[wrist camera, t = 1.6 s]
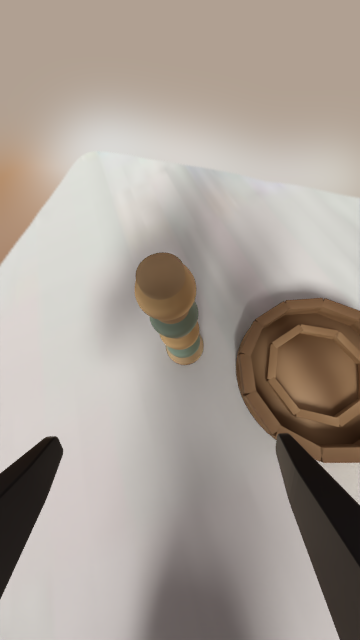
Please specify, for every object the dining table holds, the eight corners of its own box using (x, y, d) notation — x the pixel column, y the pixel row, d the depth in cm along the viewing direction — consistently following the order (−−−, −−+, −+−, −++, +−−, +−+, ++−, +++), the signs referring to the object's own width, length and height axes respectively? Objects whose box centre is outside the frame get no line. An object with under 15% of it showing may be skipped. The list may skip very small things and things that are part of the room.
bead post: (178, 372, 23) (142, 326, 9) (160, 341, 24) (107, 265, 11) (210, 351, 23) (218, 281, 10) (190, 322, 25) (173, 227, 11)
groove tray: (307, 495, 18) (321, 508, 16) (208, 351, 23) (208, 346, 21) (433, 398, 19) (461, 398, 17) (313, 284, 25) (323, 273, 22)
